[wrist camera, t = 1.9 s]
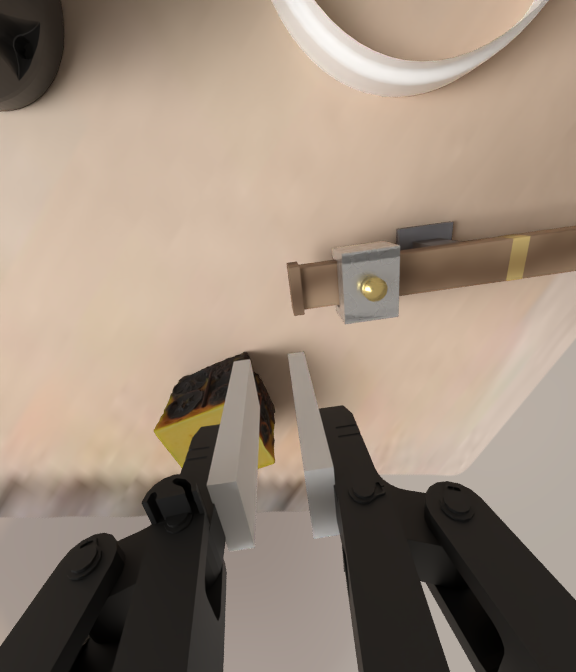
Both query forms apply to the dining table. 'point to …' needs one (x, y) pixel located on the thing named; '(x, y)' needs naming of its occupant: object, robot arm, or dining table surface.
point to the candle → (210, 410)
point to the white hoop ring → (373, 67)
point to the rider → (368, 281)
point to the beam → (446, 263)
